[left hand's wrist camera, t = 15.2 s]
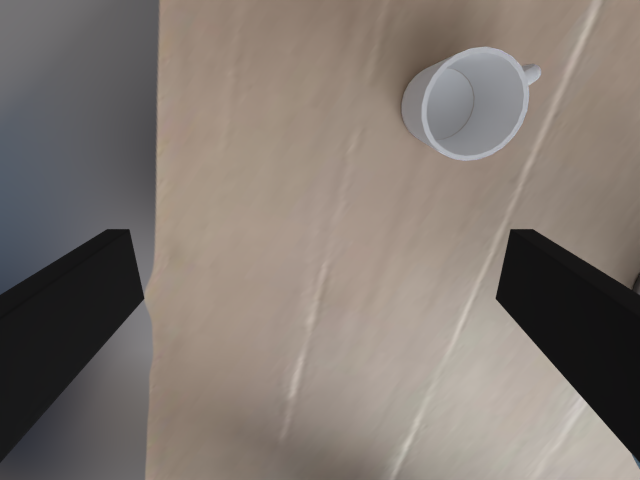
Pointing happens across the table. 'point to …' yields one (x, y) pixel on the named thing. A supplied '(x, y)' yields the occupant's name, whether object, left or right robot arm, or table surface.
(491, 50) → the mug
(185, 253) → the table surface
